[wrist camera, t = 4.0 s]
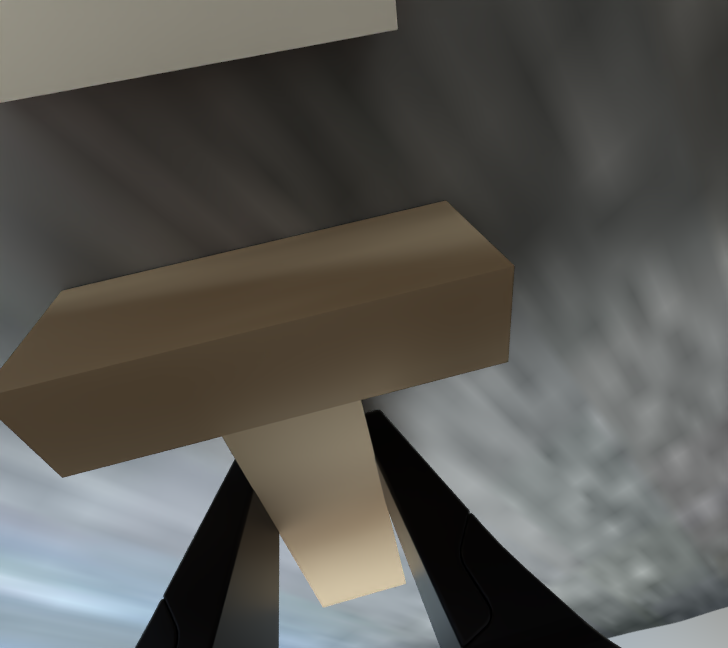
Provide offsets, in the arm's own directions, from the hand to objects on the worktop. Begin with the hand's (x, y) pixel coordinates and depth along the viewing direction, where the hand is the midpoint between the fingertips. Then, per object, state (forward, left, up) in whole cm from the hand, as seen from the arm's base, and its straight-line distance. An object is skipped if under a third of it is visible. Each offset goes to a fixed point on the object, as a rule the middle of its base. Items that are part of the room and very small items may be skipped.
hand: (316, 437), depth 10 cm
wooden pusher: (0, +1, -2) cm, 2 cm away
